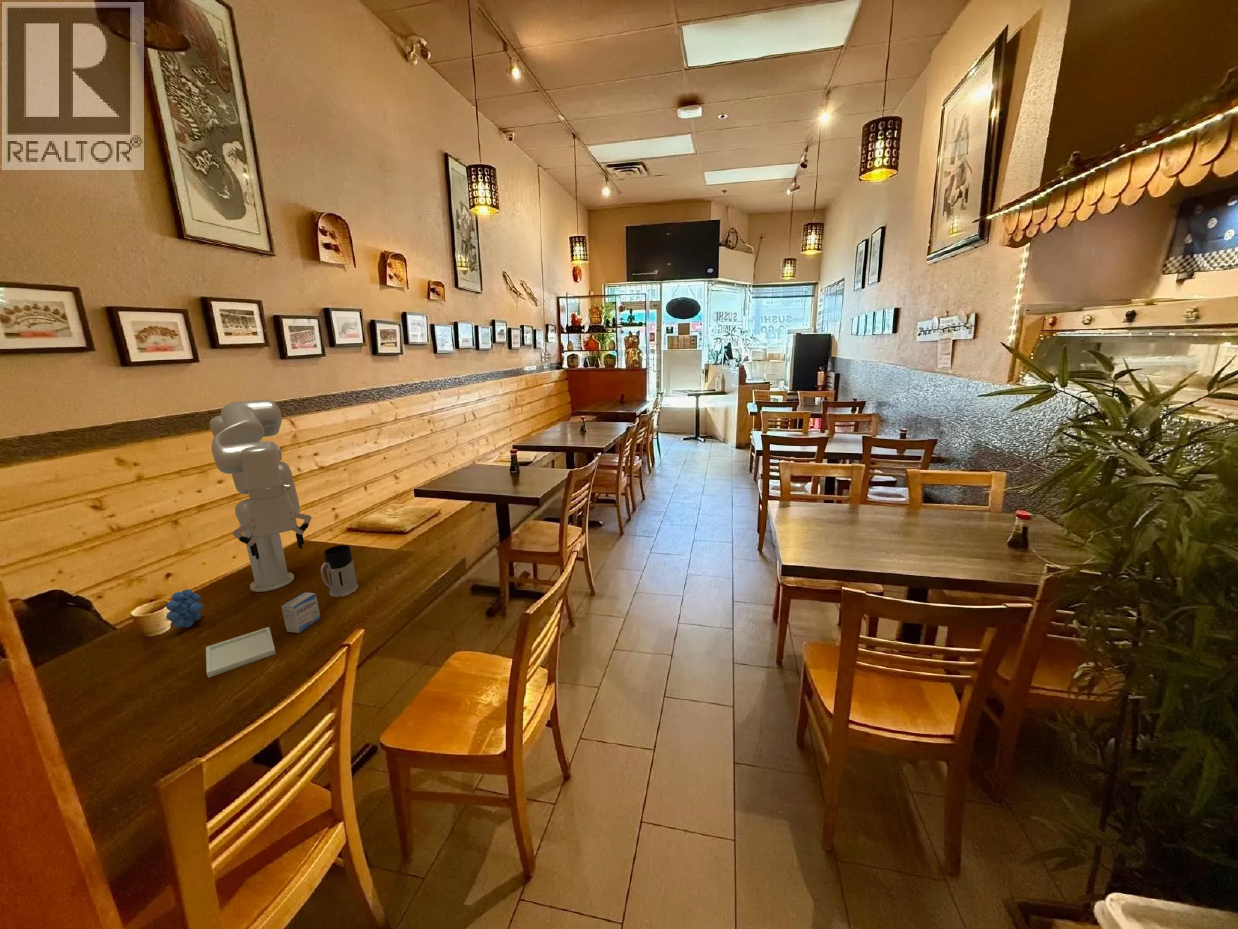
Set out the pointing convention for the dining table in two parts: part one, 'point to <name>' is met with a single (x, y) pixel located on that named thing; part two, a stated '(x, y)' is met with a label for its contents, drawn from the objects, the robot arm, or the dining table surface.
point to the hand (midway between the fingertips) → (279, 552)
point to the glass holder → (339, 571)
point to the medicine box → (301, 612)
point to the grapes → (184, 608)
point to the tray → (239, 651)
